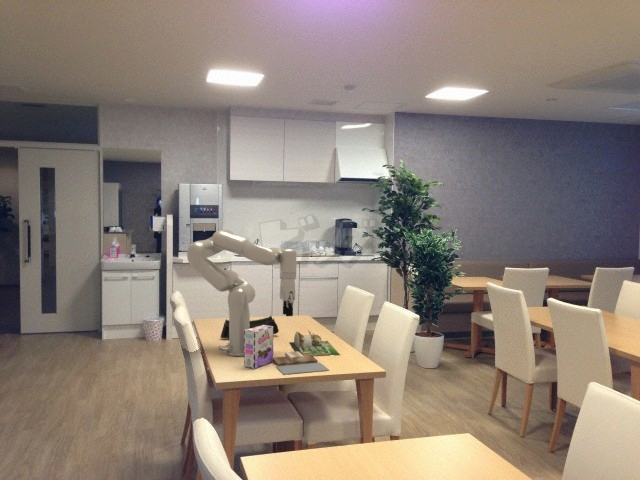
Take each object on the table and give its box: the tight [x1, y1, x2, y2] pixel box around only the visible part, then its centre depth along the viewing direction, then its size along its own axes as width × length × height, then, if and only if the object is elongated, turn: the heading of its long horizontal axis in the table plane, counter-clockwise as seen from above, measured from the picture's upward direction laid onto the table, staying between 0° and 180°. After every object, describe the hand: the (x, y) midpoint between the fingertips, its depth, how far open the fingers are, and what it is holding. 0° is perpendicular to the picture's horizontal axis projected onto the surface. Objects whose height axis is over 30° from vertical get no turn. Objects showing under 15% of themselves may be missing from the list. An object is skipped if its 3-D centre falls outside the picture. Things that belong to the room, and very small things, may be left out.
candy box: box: [243, 325, 274, 370], centre depth 246 cm, size 14×6×16 cm, turn 148°
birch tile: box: [284, 351, 304, 362], centre depth 251 cm, size 6×9×2 cm, turn 20°
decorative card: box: [288, 330, 341, 357], centre depth 277 cm, size 33×8×20 cm
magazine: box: [220, 315, 280, 339], centre depth 297 cm, size 17×3×30 cm
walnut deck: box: [272, 355, 319, 366], centre depth 250 cm, size 18×10×2 cm, turn 110°
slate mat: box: [275, 361, 330, 376], centre depth 240 cm, size 20×12×1 cm, turn 110°
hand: (287, 314), depth 260 cm, fingers open, 4 cm apart
